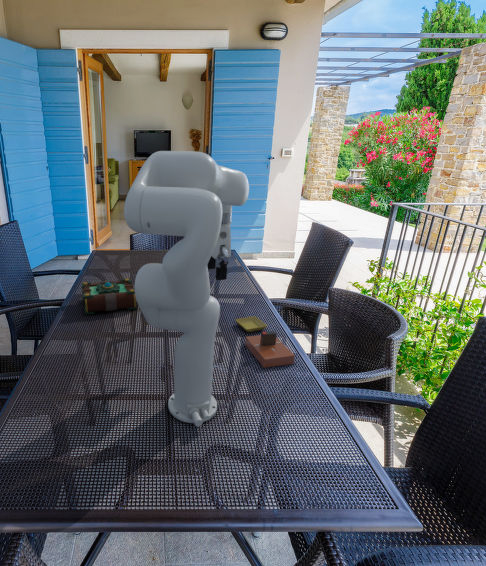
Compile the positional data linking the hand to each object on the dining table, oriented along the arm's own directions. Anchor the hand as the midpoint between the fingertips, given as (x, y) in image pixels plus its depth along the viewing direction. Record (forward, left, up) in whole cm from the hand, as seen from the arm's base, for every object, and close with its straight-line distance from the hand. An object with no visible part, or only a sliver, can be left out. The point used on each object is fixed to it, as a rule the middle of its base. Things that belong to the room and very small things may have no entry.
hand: (215, 274), depth 114 cm
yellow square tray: (+11, -19, -26) cm, 34 cm away
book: (+44, +27, -26) cm, 58 cm away
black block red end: (-6, -17, -23) cm, 29 cm away
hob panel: (-7, -17, -26) cm, 32 cm away
